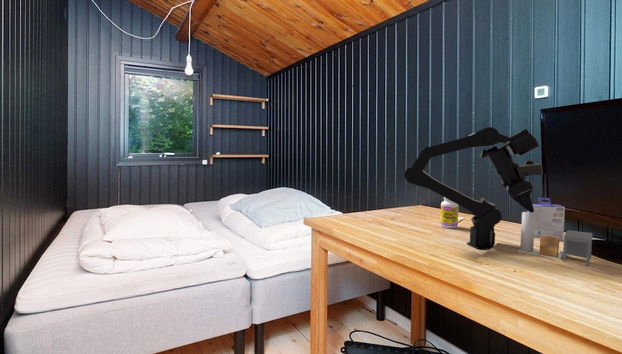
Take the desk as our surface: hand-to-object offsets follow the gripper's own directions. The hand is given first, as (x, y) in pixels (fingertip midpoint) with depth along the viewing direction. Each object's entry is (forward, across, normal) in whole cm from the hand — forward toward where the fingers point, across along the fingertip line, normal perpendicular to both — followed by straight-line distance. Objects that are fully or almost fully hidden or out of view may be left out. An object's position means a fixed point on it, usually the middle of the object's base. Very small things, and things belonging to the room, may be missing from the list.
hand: (529, 208), depth 100 cm
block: (+12, -8, +2) cm, 14 cm away
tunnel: (+16, -10, -3) cm, 19 cm away
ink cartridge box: (+17, +17, 0) cm, 24 cm away
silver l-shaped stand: (+12, -7, +4) cm, 15 cm away
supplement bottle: (+2, +24, +28) cm, 37 cm away
